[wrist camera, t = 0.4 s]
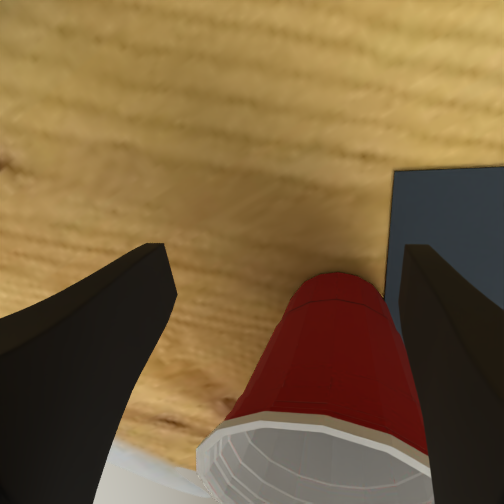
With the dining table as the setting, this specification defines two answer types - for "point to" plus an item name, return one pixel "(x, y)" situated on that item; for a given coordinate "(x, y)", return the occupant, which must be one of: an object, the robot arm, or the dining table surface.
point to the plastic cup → (324, 410)
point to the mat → (449, 226)
